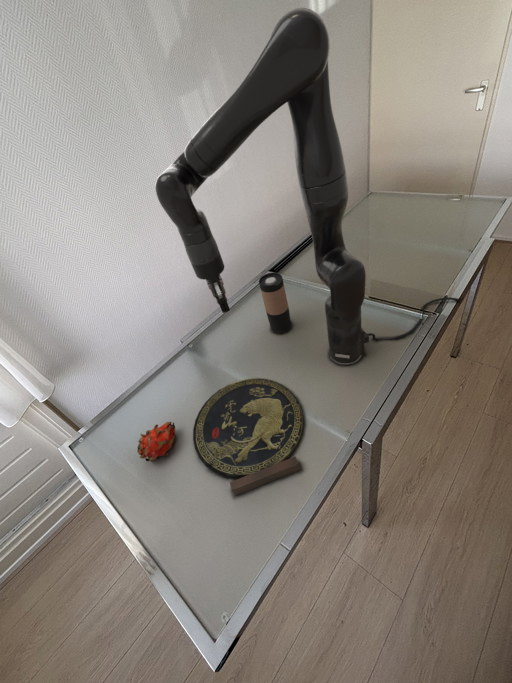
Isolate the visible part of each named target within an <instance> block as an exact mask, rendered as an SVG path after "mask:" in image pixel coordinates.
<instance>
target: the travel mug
mask: <svg viewBox="0 0 512 683" xmlns="http://www.w3.org/2000/svg"><path fill="white" fill-rule="evenodd" d="M258 285H259V289H260V293H261V297H262V301H263V305H264V310H265V313H266V316H267V320H268V323H269V326H270V329H271V331H272V333H274V334H277V335H282V334H286V333H288V332H289V331H290V330H291V328H292V320H291V314H290V308H289V303H288V298H287V293H286V289H285V284H284V278H283V275H282V274H281V273H280V272H268V273H265V274H263V275H262V276H261V277H260V278H259V279H258Z"/></svg>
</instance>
